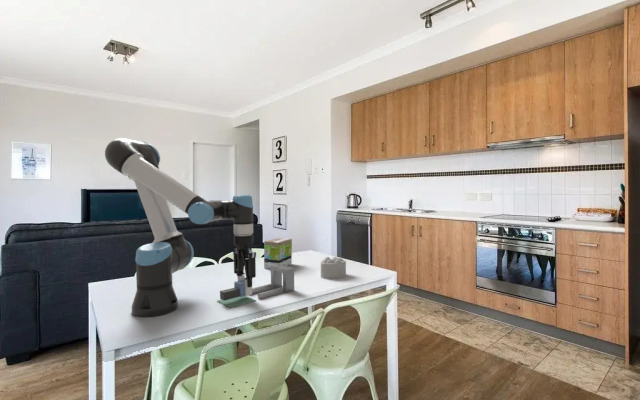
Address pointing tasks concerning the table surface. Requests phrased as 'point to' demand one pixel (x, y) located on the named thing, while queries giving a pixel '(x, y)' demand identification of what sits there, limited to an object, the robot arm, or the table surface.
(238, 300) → the mat
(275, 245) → the tea box
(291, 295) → the table surface
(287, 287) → the grey stand
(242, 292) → the plug
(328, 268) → the lumpy-topped squat cylinder
